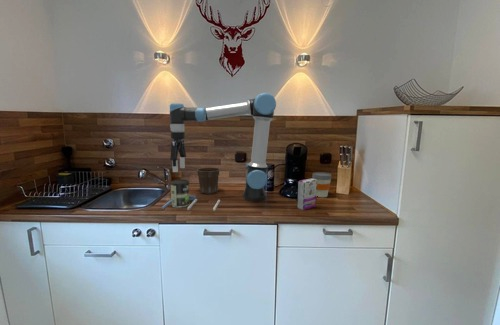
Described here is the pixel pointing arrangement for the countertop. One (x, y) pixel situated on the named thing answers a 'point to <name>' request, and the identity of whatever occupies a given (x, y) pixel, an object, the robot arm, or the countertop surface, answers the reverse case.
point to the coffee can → (180, 193)
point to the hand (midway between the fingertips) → (179, 169)
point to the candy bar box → (307, 193)
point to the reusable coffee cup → (322, 183)
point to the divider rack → (191, 203)
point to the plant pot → (208, 180)
